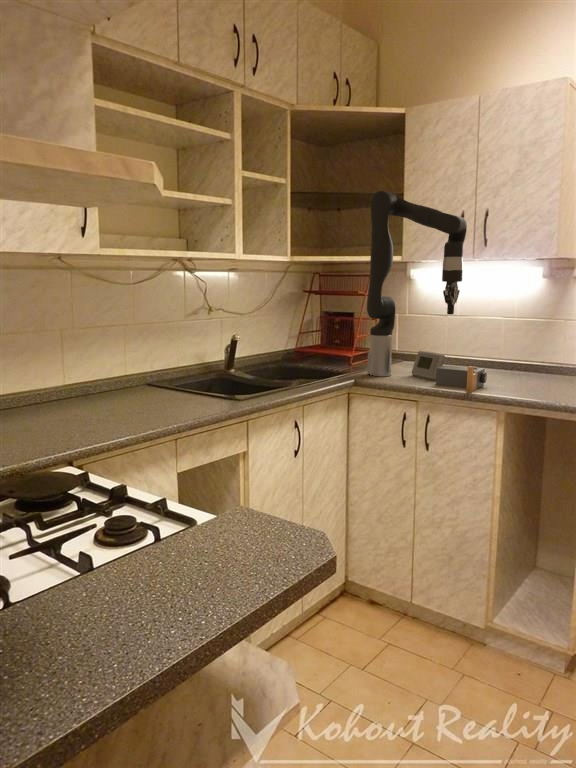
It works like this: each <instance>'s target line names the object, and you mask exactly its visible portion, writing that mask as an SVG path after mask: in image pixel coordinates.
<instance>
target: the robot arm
mask: <svg viewBox="0 0 576 768" xmlns="http://www.w3.org/2000/svg"><path fill="white" fill-rule="evenodd" d="M389 216H391V217H392V216H393V217H400V218H403V219H407V220H410V221H412V222H414V223H417V224H418V225H421V226H425V227H427V228H431V229H435V230H437V231H440V232H442V233H445V234H447V235H448V237H447V238H448V239H447V241H446V242H445V244H444V248H443V261H442V271H441V274H442V275H441V281H442V283H445V288H444V290H443V291H442V293H443V297H444V302H445V304H446V305H447V308H446V314H447V315H450V316H451V315H454V314H455V304H457V302H458V298H459V295H460V289H459V286H458V283H459V282H462V281H463V270H464V260H463V257H464V243H465V240H466V235H467V230H468V227H467V222H466V221H467V220H465V218H464V217H462V216H458V215H455V214H449V213H448V212H447V213H446V212H442V210H439V209H435V208H432V207H428V206H425V205H422V204H417V203H413V202H410V201H408V200H405V199H404V198H401V197H399V196H398V195H396V194H394V193H393V192H389V191H385V190H378V191H376V192H375V193H373V195H372V197H371V200H370V218H371V219H370V220H371V234H370V235H371V237H370V238H371V240H370V242H371V243H370V244H371V245H370V260H369V261H370V264H369V265H370V267H369V268H370V270H369V271H370V272H369V285H368V293H367V298H366V299H367V300H366V312H367V316H368V317H369V318H371V319H374V320H378V319H379V320H378V322H377V324H375V325H373V326H372V327H371V328H370V332H369V333H370V335H369V352H367V373H366V374H370V375H369V376H372V375H373V376H372V377H389V376H392V353H393V350H392V349H393V331H394V328H395V320H396V308H397V307H396V301H395V300H394V298H392V297H391V296H382V291H383V286H384V283H385V281H386V278H387V277H388V275H389V273H390V272H391V269H392V267H393V262H394V245H393V244H394V243H393V241H392V236H391V234H390V230H389Z"/></svg>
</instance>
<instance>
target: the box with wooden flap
mask: <svg viewBox="0 0 576 768" xmlns="http://www.w3.org/2000/svg"><path fill="white" fill-rule="evenodd" d="M467 371H468V366H455V365H445V364H443V366H441V367H438V368H437V369H436V380H435V385H436V386H447V387H454V388H455V387H457V388H465V387H466V388H465V389H467ZM474 372H478V376H477V388H478V389H479V388H481V387H483V386H484V385H485V383H487V380H488V379H487V378H488V375H487V372H486V370H485V368H482V367H481V368H480V367H479V368H478V367H477V366H473V374H474Z"/></svg>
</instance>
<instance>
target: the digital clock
mask: <svg viewBox="0 0 576 768" xmlns="http://www.w3.org/2000/svg"><path fill="white" fill-rule="evenodd" d="M445 360H446V356H445V355H444V354H442V353H437V352H433V351H425V350H420V351H417V353H416V357H415V360H414V363H413V366H412V370H411V375H413V376H415V377H418V378H422V379H426V380H431V381H436V369H437V368H438V367H441V366H444V363H445Z"/></svg>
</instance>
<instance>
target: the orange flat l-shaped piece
mask: <svg viewBox="0 0 576 768" xmlns="http://www.w3.org/2000/svg"><path fill="white" fill-rule="evenodd" d="M467 367H468V371H467V388H465V389H466V391H465V392H466V394H472V393H473V392H474V391H476V390H478V389H477V376H478V372H474V374H473V367H474V366H471V365H469V366H467ZM472 391H473V392H472Z"/></svg>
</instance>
